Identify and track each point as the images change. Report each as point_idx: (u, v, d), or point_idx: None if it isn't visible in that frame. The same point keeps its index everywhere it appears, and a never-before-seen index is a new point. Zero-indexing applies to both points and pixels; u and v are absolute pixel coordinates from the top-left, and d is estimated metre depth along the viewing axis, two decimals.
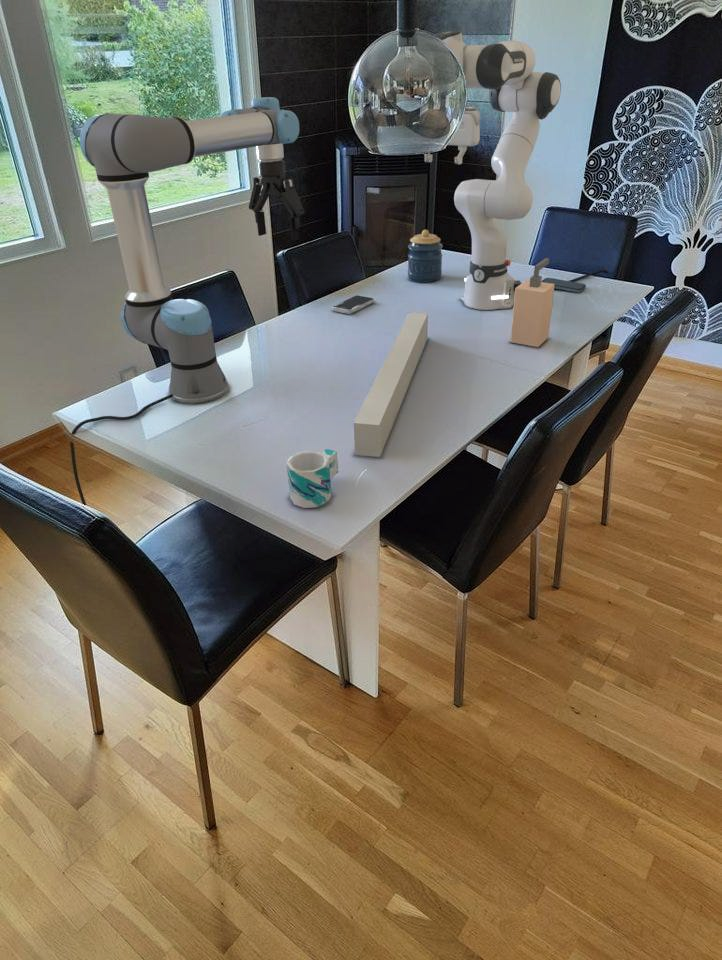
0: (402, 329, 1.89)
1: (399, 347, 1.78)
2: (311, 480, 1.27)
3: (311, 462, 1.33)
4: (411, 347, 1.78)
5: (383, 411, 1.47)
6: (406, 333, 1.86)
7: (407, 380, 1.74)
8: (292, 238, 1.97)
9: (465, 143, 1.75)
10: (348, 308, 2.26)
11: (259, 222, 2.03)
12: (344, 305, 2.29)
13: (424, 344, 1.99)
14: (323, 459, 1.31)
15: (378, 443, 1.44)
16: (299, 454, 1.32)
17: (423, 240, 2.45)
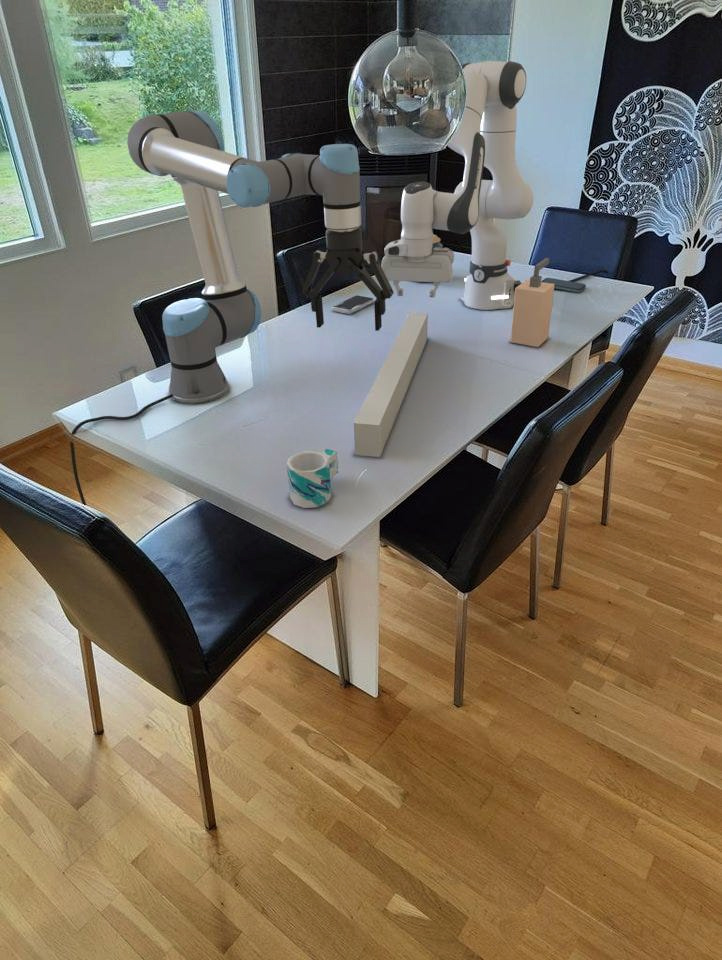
0: (402, 329, 1.89)
1: (399, 347, 1.78)
2: (311, 480, 1.27)
3: (311, 462, 1.33)
4: (411, 347, 1.78)
5: (383, 411, 1.47)
6: (406, 333, 1.86)
7: (407, 380, 1.74)
8: (377, 327, 1.47)
9: (442, 280, 1.87)
10: (348, 308, 2.26)
11: (319, 310, 1.49)
12: (344, 305, 2.29)
13: (424, 344, 1.99)
14: (323, 459, 1.31)
15: (378, 443, 1.44)
16: (299, 454, 1.32)
17: None
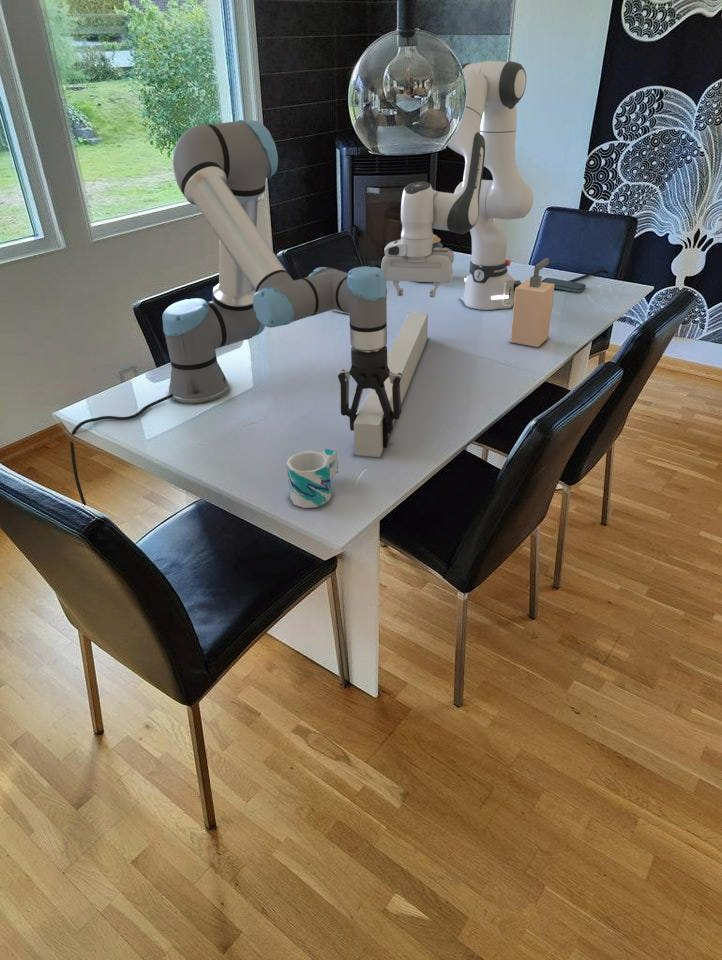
0: (402, 329, 1.89)
1: (399, 347, 1.78)
2: (311, 480, 1.27)
3: (311, 462, 1.33)
4: (411, 347, 1.78)
5: None
6: (406, 333, 1.86)
7: (407, 380, 1.74)
8: (384, 445, 1.48)
9: (442, 280, 1.87)
10: None
11: None
12: None
13: (424, 344, 1.99)
14: (323, 459, 1.31)
15: (378, 443, 1.44)
16: (299, 454, 1.32)
17: None
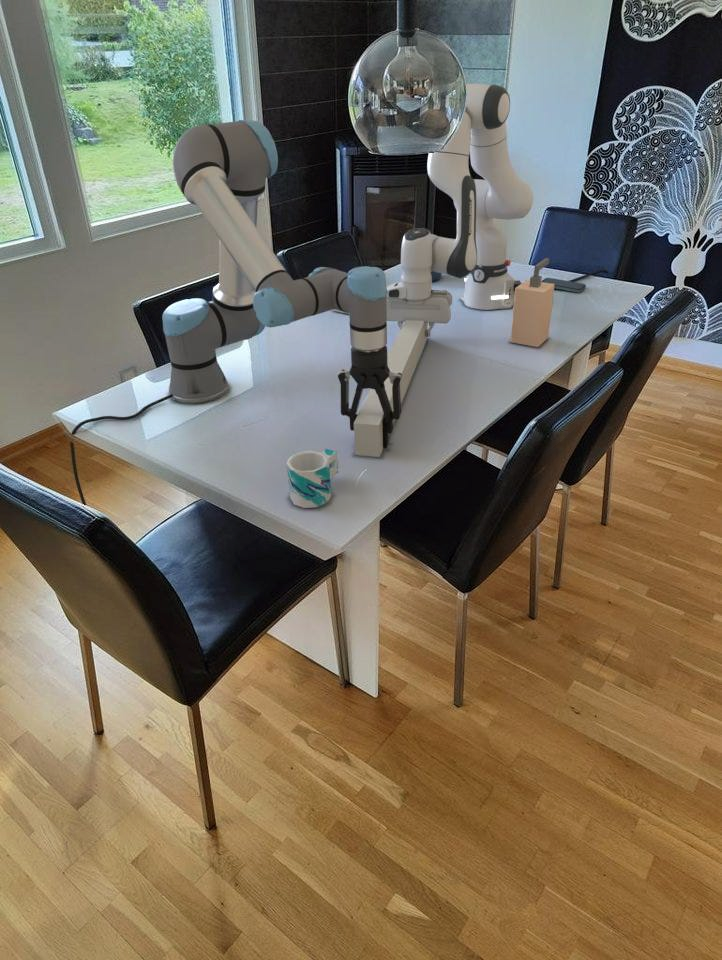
0: (402, 329, 1.89)
1: (399, 347, 1.78)
2: (311, 480, 1.27)
3: (311, 462, 1.33)
4: (411, 347, 1.78)
5: None
6: (406, 333, 1.86)
7: (407, 380, 1.74)
8: (384, 445, 1.48)
9: (441, 321, 1.93)
10: None
11: None
12: None
13: (424, 344, 1.99)
14: (323, 459, 1.31)
15: (378, 443, 1.44)
16: (299, 454, 1.32)
17: None
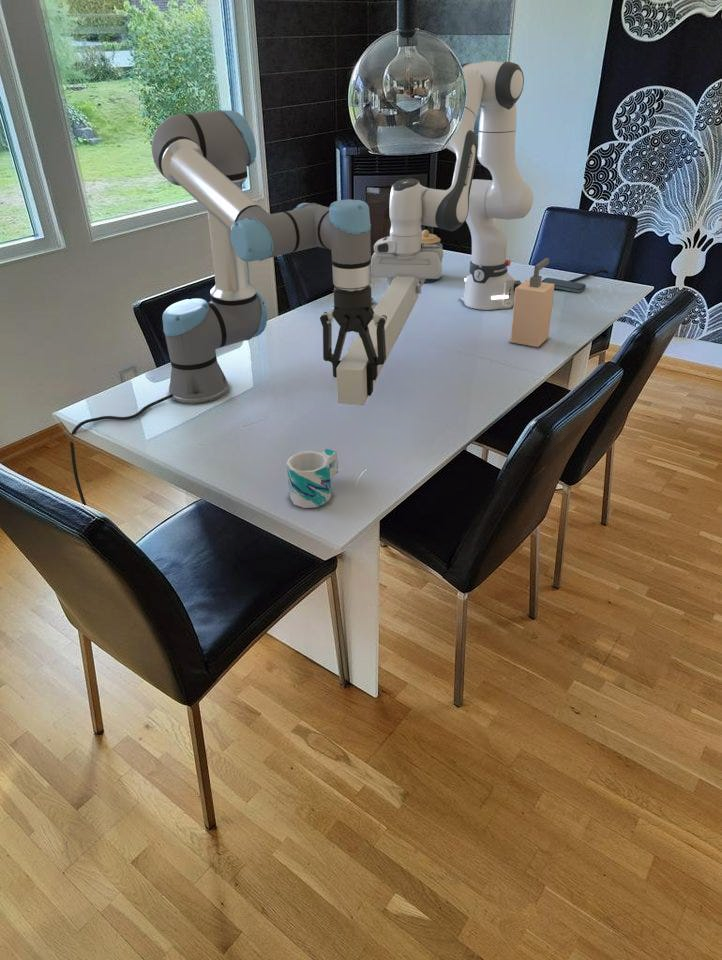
0: (392, 284, 1.83)
1: (388, 300, 1.72)
2: (311, 480, 1.27)
3: (311, 462, 1.33)
4: (400, 300, 1.72)
5: (367, 357, 1.42)
6: (396, 288, 1.80)
7: (395, 333, 1.68)
8: (369, 392, 1.43)
9: (432, 276, 1.88)
10: None
11: None
12: None
13: (415, 302, 1.93)
14: (323, 459, 1.31)
15: (362, 390, 1.39)
16: (299, 454, 1.32)
17: (423, 240, 2.45)
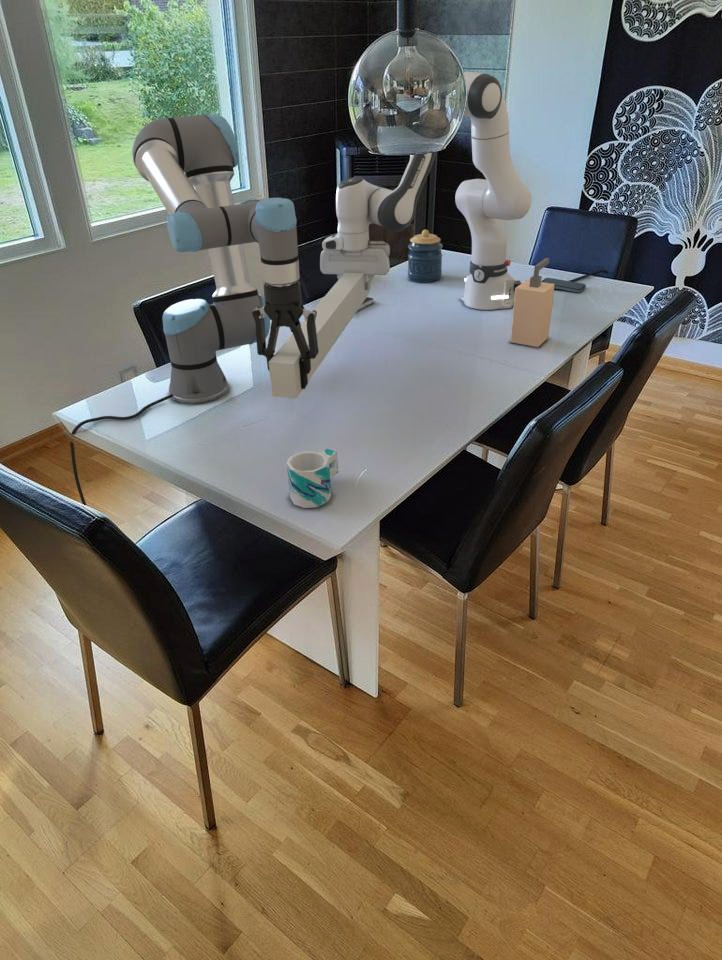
0: (339, 280, 1.87)
1: (332, 296, 1.76)
2: (311, 480, 1.27)
3: (311, 462, 1.33)
4: (344, 296, 1.76)
5: None
6: (342, 284, 1.84)
7: (338, 329, 1.72)
8: (303, 385, 1.47)
9: (379, 273, 1.92)
10: None
11: None
12: None
13: (364, 298, 1.97)
14: (323, 459, 1.31)
15: (294, 383, 1.43)
16: (299, 454, 1.32)
17: (423, 240, 2.45)
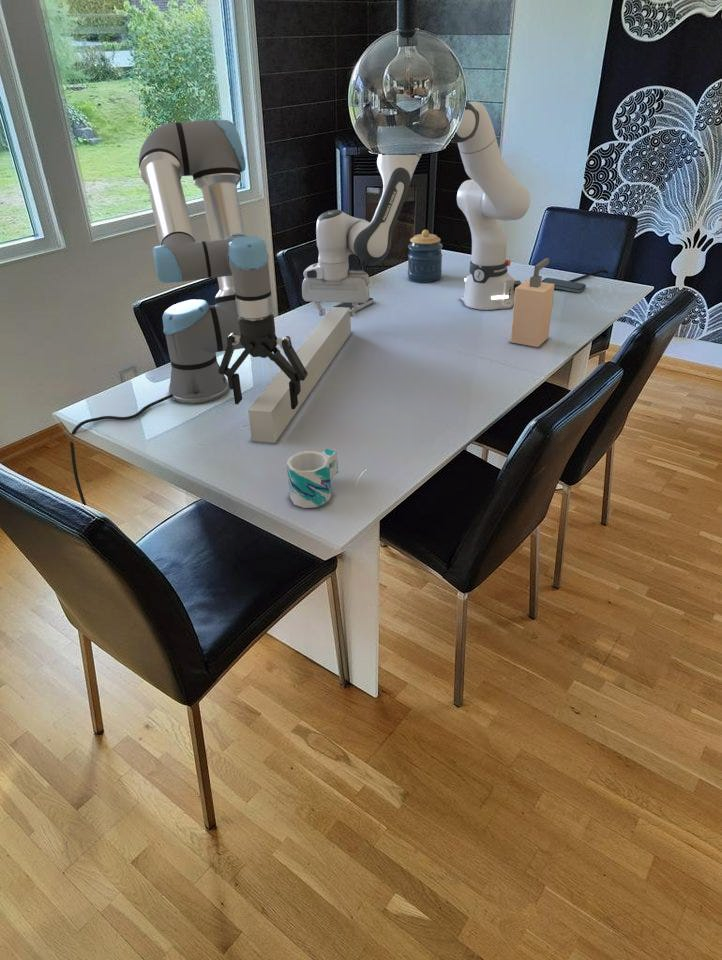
0: (320, 322, 1.96)
1: (313, 339, 1.85)
2: (311, 480, 1.27)
3: (311, 462, 1.33)
4: (324, 339, 1.84)
5: (279, 399, 1.54)
6: (323, 326, 1.93)
7: (318, 371, 1.80)
8: (292, 406, 1.51)
9: (359, 301, 1.98)
10: None
11: (236, 388, 1.52)
12: (344, 305, 2.29)
13: (346, 337, 2.06)
14: (323, 459, 1.31)
15: (272, 429, 1.51)
16: (299, 454, 1.32)
17: (423, 240, 2.45)
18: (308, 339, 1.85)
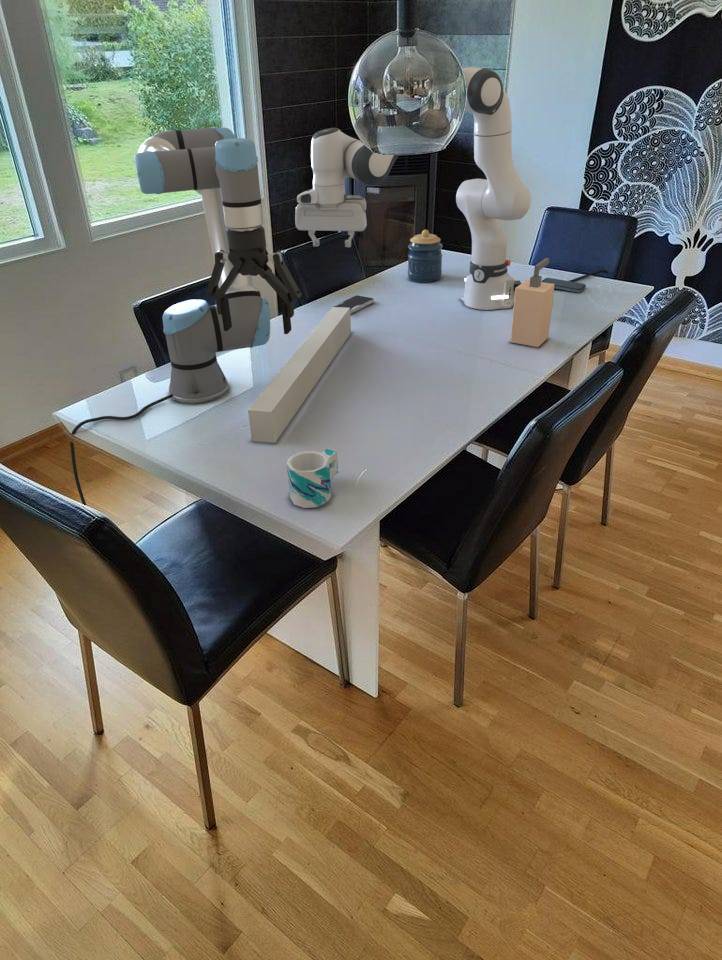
0: (320, 322, 1.96)
1: (313, 339, 1.85)
2: (311, 480, 1.27)
3: (311, 462, 1.33)
4: (324, 339, 1.84)
5: (279, 399, 1.54)
6: (323, 326, 1.93)
7: (318, 371, 1.80)
8: (285, 330, 1.41)
9: (356, 229, 1.87)
10: None
11: (225, 313, 1.42)
12: (344, 305, 2.29)
13: (346, 337, 2.06)
14: (323, 459, 1.31)
15: (272, 429, 1.51)
16: (299, 454, 1.32)
17: (423, 240, 2.45)
18: (308, 339, 1.85)
